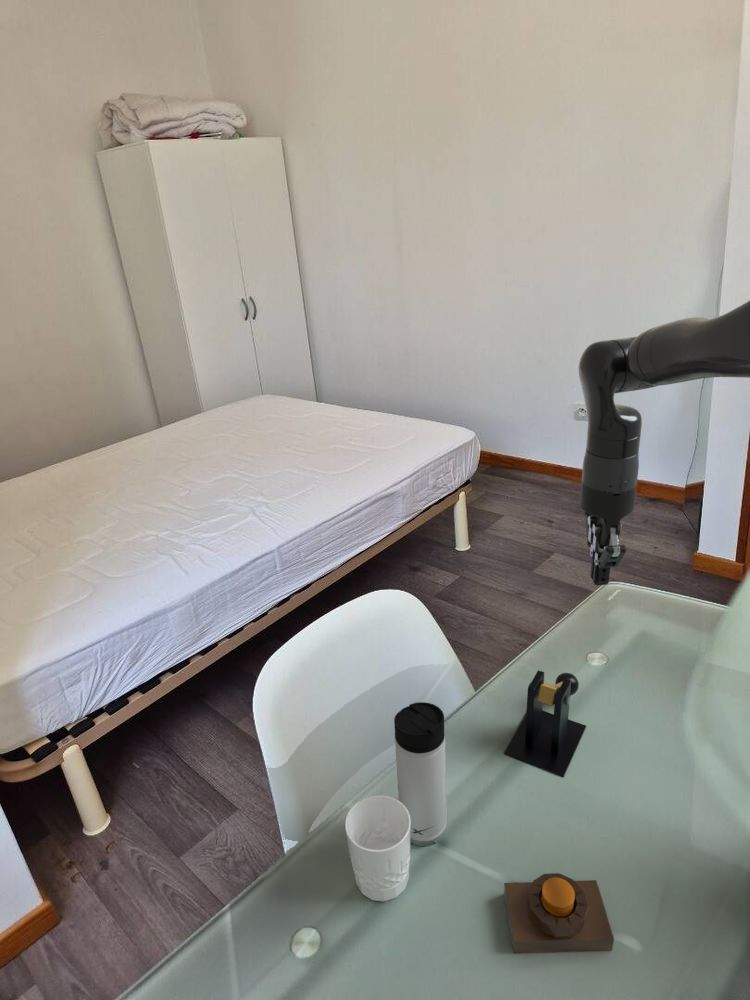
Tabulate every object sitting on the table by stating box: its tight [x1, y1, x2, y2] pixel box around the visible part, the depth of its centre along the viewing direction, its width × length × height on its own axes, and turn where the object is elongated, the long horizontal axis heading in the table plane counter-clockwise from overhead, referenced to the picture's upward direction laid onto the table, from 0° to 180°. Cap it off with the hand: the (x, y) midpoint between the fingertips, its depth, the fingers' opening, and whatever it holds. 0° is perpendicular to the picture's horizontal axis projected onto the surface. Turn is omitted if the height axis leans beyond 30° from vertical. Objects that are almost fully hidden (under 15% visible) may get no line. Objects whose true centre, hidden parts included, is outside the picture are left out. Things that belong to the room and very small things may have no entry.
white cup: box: [344, 794, 412, 903], centre depth 84 cm, size 8×8×10 cm
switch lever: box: [538, 672, 580, 707], centre depth 105 cm, size 14×4×4 cm
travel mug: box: [393, 701, 448, 847], centre depth 88 cm, size 6×7×20 cm
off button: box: [541, 878, 575, 917], centre depth 78 cm, size 4×4×2 cm
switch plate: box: [503, 872, 615, 954], centre depth 79 cm, size 11×7×4 cm, turn 89°
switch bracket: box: [503, 670, 587, 778], centre depth 102 cm, size 11×9×12 cm
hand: (599, 581), depth 106 cm, fingers closed
